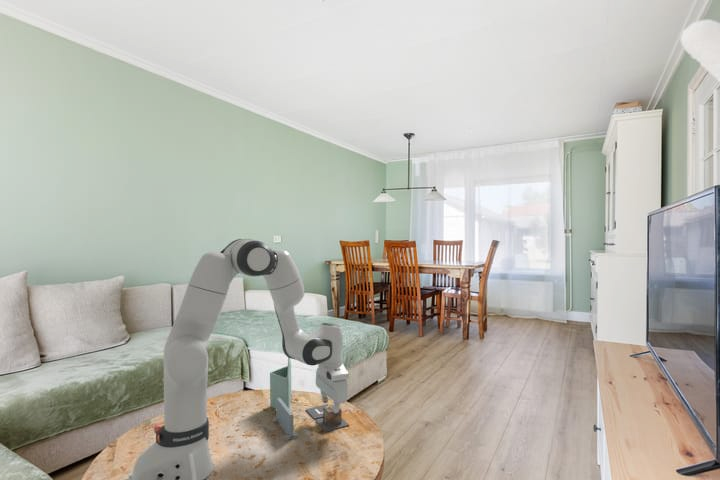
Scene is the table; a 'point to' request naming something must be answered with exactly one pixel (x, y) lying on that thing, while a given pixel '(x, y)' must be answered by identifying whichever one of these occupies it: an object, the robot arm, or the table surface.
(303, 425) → the table surface
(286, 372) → the planter
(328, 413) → the cube
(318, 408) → the pad
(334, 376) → the robot arm
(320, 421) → the pad
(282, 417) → the screen
